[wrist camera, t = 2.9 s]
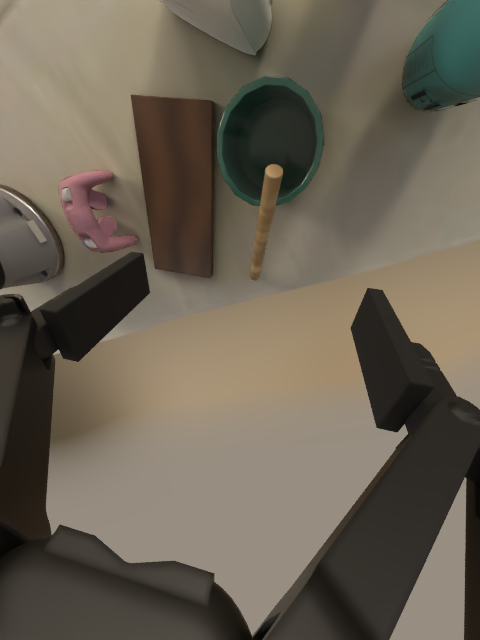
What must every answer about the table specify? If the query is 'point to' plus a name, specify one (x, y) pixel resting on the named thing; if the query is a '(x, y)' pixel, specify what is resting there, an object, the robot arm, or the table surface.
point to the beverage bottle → (445, 58)
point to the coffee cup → (270, 138)
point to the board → (178, 180)
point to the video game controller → (80, 215)
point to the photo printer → (228, 20)
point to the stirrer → (265, 216)
